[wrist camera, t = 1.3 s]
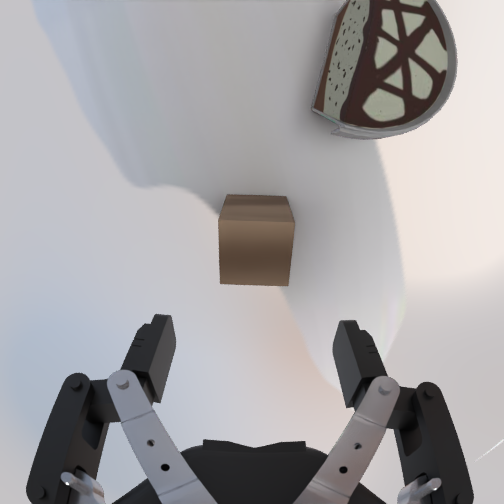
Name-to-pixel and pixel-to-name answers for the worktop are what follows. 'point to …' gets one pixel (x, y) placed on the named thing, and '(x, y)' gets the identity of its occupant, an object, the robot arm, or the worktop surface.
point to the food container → (386, 67)
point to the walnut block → (255, 240)
